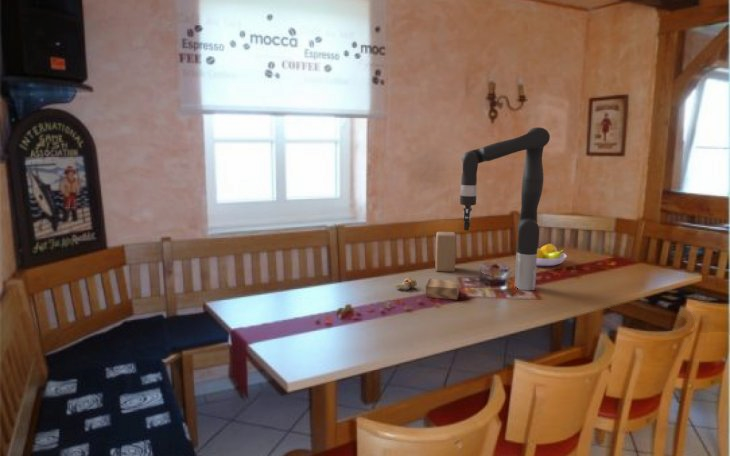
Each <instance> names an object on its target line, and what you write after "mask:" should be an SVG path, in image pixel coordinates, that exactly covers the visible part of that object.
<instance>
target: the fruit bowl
mask: <svg viewBox="0 0 730 456" xmlns="http://www.w3.org/2000/svg"><path fill="white" fill-rule="evenodd" d="M567 257H568V255H567V254H566V253H565V252H564V249H562V250H560V251H558V249H557V246H555V245H554V244H552V243H547V244H544V245H543V246H541V247H540V248H539V247H538V249H537V260H536V267H554V266H556V265H559V264H562V263H564V261H565V259H567Z"/></svg>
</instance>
